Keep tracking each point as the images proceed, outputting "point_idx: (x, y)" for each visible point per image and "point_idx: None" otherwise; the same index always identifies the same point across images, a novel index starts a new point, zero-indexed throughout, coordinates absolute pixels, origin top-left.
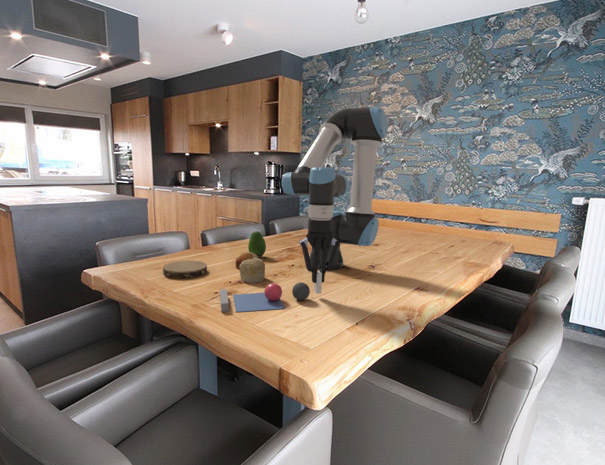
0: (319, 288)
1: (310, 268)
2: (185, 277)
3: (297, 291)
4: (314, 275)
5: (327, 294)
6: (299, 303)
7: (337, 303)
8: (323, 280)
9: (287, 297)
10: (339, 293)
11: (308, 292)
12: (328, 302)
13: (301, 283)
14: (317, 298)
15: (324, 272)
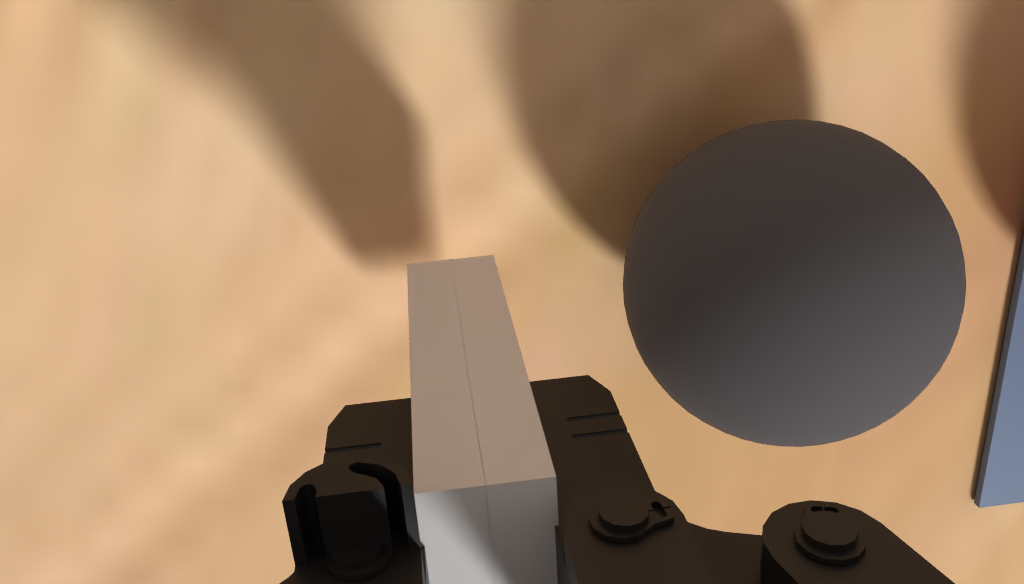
0: (447, 299)
1: (840, 573)
2: None
3: (914, 171)
4: (610, 478)
5: (255, 421)
6: (793, 77)
7: (138, 10)
8: (352, 428)
9: None
10: (42, 456)
11: (685, 183)
12: (300, 75)
13: (869, 322)
14: None
15: (343, 480)
